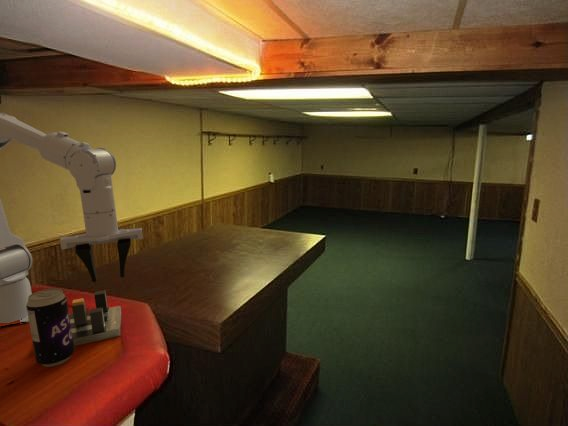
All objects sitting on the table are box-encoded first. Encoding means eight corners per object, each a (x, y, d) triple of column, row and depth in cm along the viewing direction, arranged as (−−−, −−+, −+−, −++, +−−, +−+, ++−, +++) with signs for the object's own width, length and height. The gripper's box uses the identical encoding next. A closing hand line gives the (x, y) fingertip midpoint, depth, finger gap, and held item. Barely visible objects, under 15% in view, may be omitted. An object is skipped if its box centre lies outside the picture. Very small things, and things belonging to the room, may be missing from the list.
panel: (48, 325, 78) (43, 300, 77) (121, 311, 83) (117, 287, 82) (34, 355, 66) (29, 325, 65) (120, 336, 72) (116, 309, 71)
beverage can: (57, 370, 61) (45, 301, 59) (28, 368, 62) (16, 300, 60) (82, 351, 67) (72, 287, 65) (55, 350, 68) (44, 287, 66)
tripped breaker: (76, 321, 75) (72, 299, 74) (87, 319, 76) (84, 297, 75) (74, 325, 73) (71, 303, 72) (86, 323, 74) (83, 301, 73)
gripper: (53, 219, 67) (64, 291, 69) (139, 210, 72) (148, 277, 74) (59, 213, 73) (70, 279, 75) (138, 205, 78) (146, 267, 81)
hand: (108, 278), depth 75 cm, fingers open, 4 cm apart
